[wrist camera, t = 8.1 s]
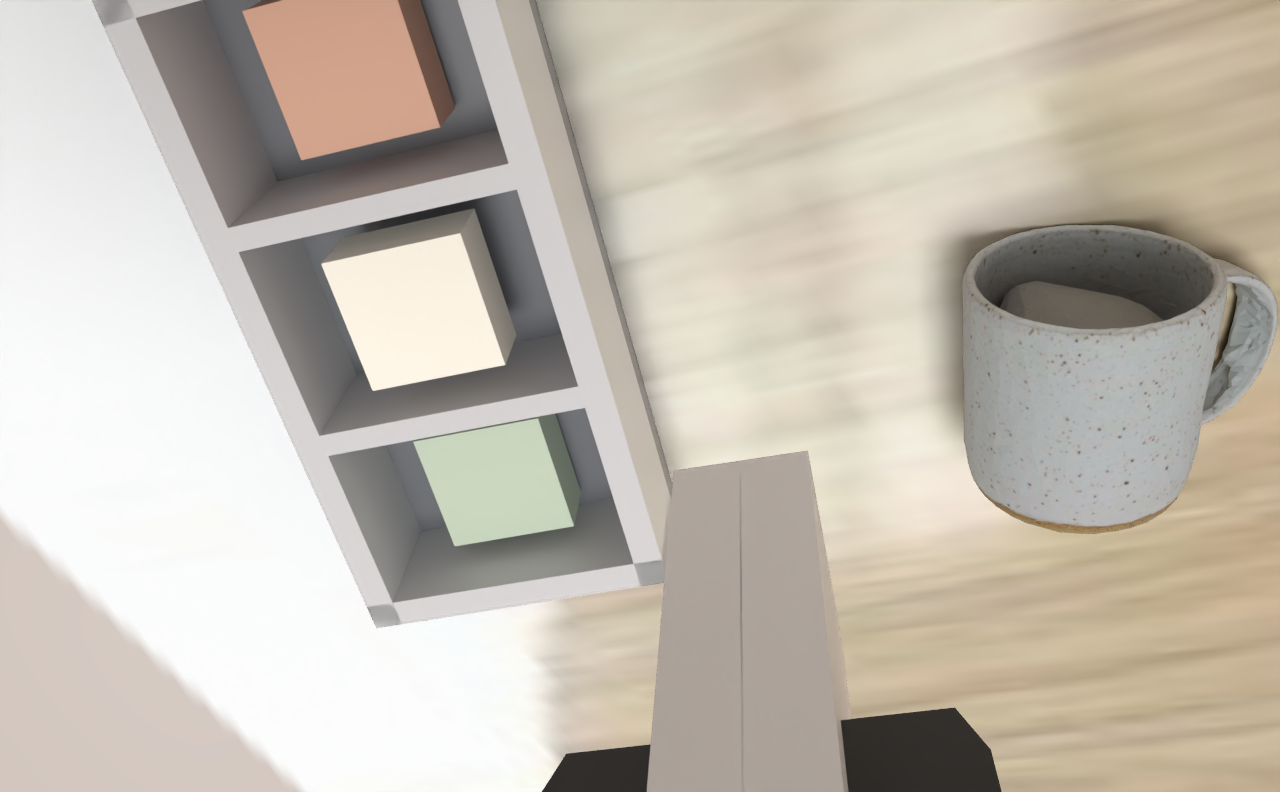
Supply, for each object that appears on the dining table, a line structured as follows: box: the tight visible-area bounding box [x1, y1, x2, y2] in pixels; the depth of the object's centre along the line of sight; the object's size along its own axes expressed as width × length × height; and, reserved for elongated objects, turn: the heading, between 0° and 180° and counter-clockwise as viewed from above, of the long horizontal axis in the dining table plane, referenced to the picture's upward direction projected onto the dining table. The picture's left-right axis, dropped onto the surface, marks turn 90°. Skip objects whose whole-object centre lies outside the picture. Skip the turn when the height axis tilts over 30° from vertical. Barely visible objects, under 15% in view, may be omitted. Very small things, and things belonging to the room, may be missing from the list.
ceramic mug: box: [962, 225, 1278, 534], centre depth 37 cm, size 11×8×8 cm
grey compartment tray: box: [92, 0, 672, 628], centre depth 39 cm, size 23×11×5 cm, turn 14°
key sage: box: [413, 414, 581, 546], centre depth 42 cm, size 5×5×2 cm
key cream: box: [321, 209, 516, 391], centre depth 38 cm, size 5×5×2 cm
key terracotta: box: [242, 0, 455, 160], centre depth 36 cm, size 5×5×2 cm
